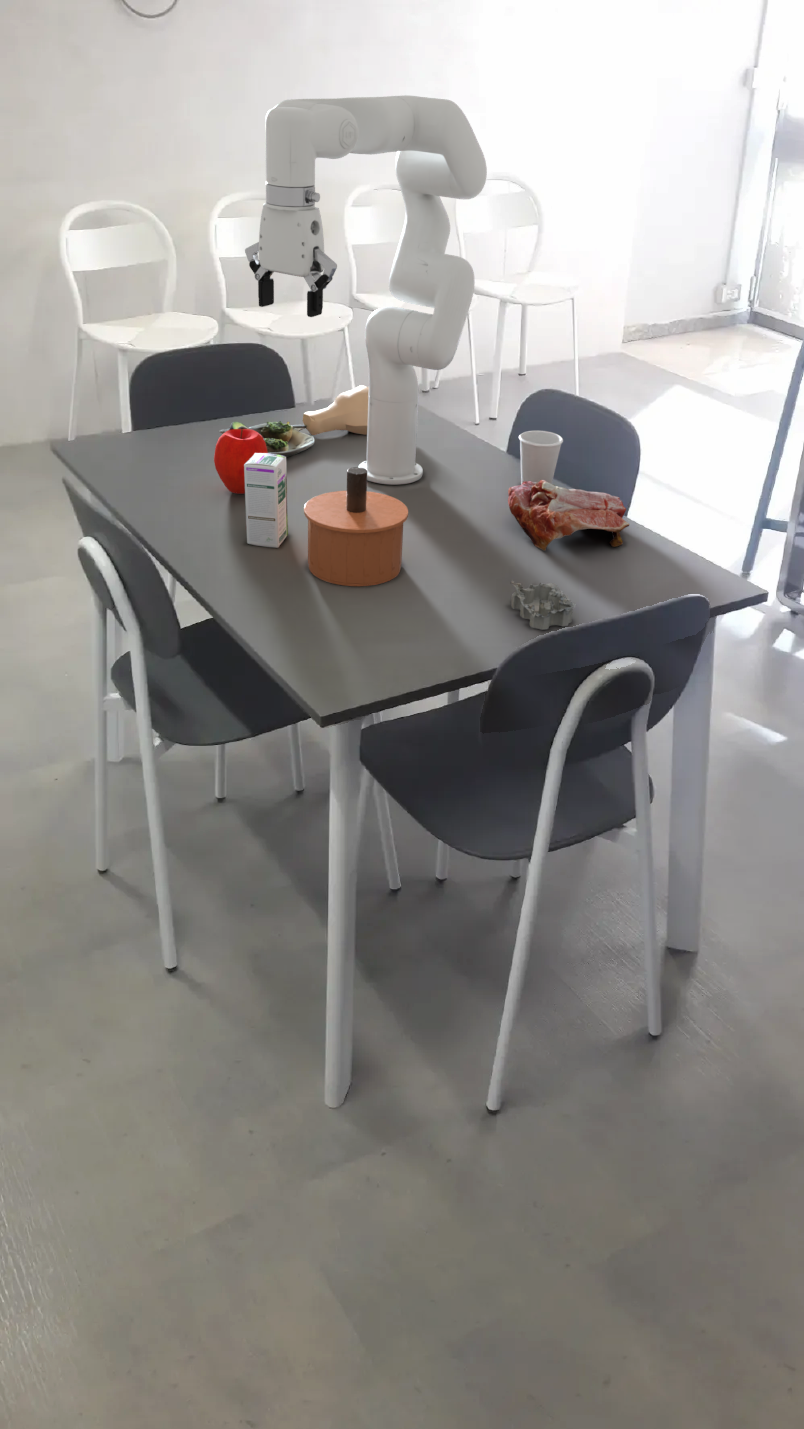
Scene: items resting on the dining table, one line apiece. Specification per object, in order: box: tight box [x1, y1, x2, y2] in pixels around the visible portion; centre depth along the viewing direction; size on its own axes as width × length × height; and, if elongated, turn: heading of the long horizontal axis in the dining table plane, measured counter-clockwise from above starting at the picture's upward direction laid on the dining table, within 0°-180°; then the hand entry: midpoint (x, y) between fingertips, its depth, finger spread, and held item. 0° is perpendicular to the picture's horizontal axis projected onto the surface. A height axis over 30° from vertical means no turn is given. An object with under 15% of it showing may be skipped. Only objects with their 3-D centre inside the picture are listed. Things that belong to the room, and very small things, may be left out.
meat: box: [507, 480, 630, 552], centre depth 223 cm, size 21×21×10 cm
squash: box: [302, 384, 369, 436], centre depth 265 cm, size 11×20×9 cm, turn 118°
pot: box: [307, 519, 404, 587], centre depth 206 cm, size 15×15×10 cm
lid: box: [303, 466, 409, 533], centre depth 201 cm, size 17×17×8 cm
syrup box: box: [244, 453, 289, 549], centre depth 212 cm, size 6×6×14 cm
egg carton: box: [510, 580, 577, 631], centre depth 195 cm, size 11×8×4 cm
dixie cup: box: [518, 430, 564, 485], centre depth 241 cm, size 8×8×10 cm
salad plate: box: [218, 420, 316, 458], centre depth 257 cm, size 19×18×5 cm
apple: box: [213, 429, 268, 495], centre depth 231 cm, size 10×10×12 cm
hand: (290, 310), depth 203 cm, fingers open, 9 cm apart
